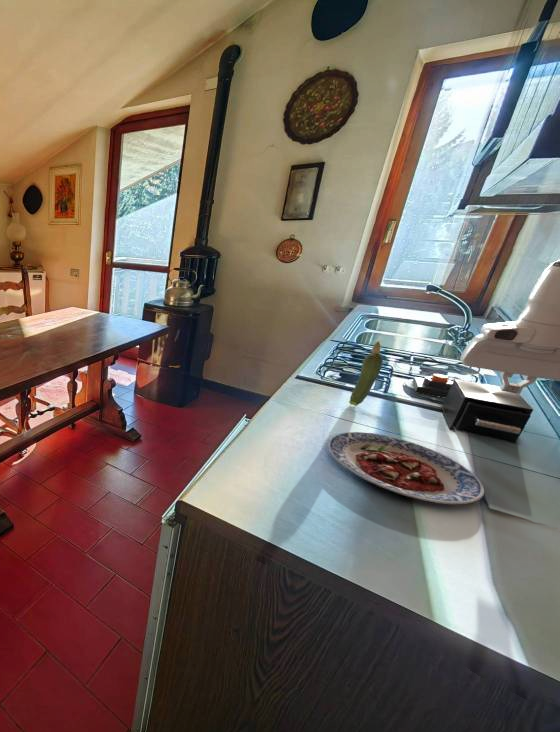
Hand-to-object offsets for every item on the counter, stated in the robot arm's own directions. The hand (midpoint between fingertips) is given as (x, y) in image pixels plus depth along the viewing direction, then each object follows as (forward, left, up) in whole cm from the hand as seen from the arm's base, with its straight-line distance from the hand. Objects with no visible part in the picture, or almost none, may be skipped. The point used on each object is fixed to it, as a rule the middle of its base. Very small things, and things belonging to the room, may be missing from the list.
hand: (509, 391), depth 91 cm
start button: (+5, -33, -10) cm, 35 cm away
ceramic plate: (+18, +29, -14) cm, 37 cm away
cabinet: (0, -10, -14) cm, 17 cm away
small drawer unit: (0, -5, -13) cm, 14 cm away
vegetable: (+25, -5, -14) cm, 29 cm away
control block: (+5, -33, -14) cm, 37 cm away
